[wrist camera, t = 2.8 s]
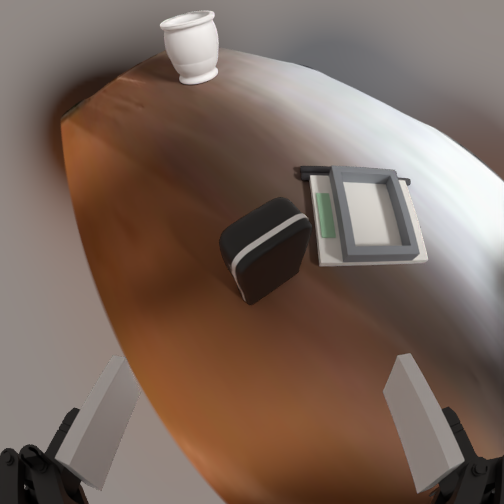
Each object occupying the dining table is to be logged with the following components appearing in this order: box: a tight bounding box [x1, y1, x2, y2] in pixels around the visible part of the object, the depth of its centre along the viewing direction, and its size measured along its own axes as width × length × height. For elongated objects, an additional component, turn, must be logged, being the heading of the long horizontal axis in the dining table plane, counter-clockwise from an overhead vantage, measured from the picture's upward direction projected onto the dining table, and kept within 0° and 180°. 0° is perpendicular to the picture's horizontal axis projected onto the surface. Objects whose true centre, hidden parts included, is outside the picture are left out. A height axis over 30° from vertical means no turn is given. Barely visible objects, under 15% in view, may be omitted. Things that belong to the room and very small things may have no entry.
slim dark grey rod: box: [300, 166, 411, 185], centre depth 34 cm, size 16×2×1 cm, turn 90°
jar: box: [160, 11, 219, 85], centre depth 41 cm, size 11×10×15 cm
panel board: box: [309, 166, 428, 266], centre depth 30 cm, size 14×12×3 cm
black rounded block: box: [219, 197, 312, 305], centre depth 24 cm, size 7×4×11 cm, turn 125°
